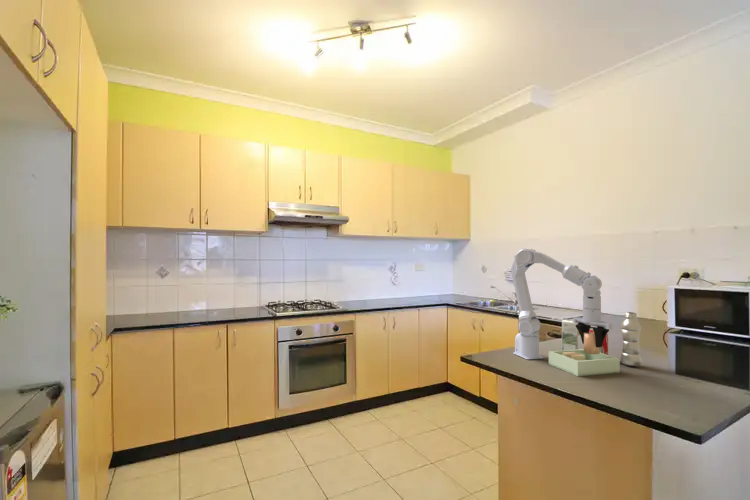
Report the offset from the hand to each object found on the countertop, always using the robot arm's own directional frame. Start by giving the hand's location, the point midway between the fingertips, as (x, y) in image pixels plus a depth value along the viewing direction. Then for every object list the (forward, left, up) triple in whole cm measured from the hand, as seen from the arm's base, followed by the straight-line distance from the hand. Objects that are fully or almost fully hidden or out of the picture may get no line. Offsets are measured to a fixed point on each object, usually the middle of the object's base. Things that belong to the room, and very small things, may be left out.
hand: (591, 345), depth 135 cm
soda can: (-9, +12, -8) cm, 17 cm away
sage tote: (0, -4, -8) cm, 9 cm away
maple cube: (0, -8, -8) cm, 11 cm away
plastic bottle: (+1, +17, -8) cm, 19 cm away
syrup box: (-16, +5, -8) cm, 19 cm away
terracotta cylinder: (0, 0, -3) cm, 3 cm away
